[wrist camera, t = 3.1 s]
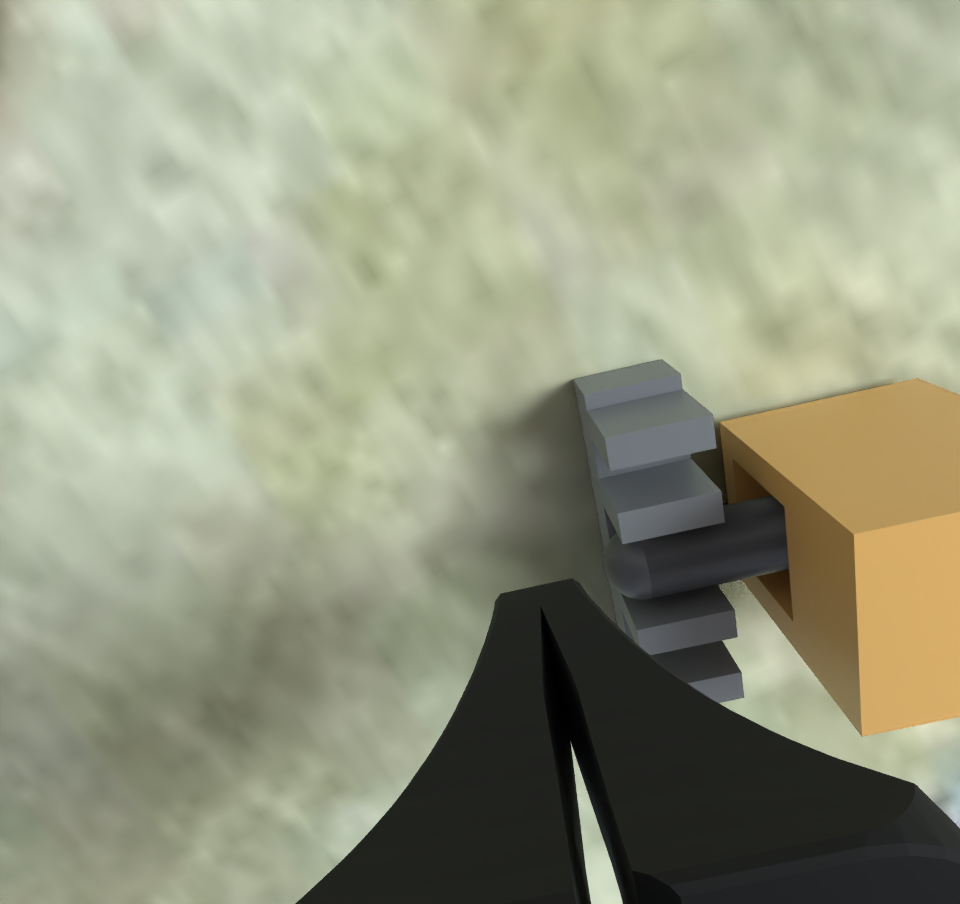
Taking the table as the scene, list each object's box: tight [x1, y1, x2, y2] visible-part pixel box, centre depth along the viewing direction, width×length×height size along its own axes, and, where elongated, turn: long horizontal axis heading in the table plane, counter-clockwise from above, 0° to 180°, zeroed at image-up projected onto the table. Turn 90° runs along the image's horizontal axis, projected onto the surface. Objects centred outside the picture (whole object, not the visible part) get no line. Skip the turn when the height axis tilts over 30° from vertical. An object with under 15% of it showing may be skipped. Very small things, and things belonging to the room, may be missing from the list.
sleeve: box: [720, 378, 960, 737], centre depth 13 cm, size 4×4×5 cm
